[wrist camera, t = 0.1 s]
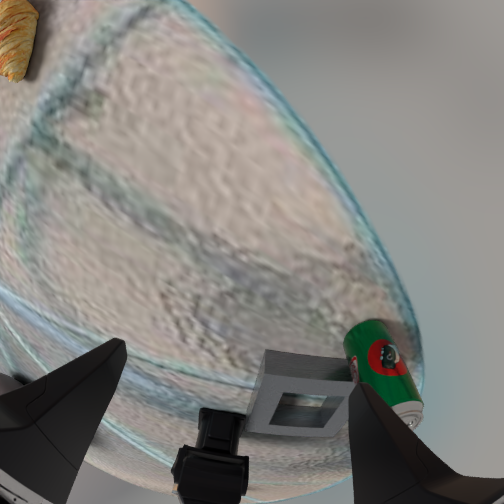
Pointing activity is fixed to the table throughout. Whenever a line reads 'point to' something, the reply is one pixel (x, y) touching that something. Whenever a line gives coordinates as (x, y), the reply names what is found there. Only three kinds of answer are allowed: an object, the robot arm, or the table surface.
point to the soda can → (383, 369)
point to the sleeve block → (302, 382)
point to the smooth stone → (8, 384)
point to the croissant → (16, 37)
